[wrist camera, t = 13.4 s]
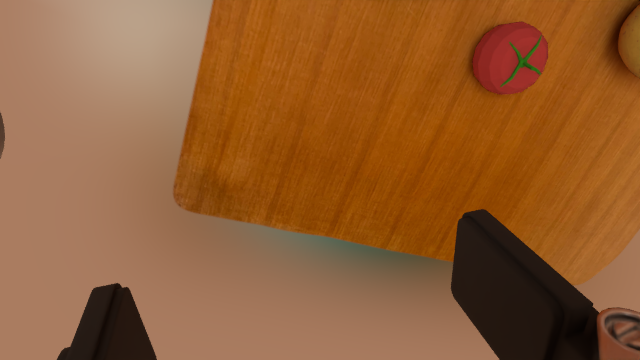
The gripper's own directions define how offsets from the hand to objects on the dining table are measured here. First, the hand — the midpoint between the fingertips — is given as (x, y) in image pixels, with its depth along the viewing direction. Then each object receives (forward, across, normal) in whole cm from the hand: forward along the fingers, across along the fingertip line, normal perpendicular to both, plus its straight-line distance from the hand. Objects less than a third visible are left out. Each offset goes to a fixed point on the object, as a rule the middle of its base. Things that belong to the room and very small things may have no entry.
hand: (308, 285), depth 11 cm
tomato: (+36, -30, +3) cm, 46 cm away
